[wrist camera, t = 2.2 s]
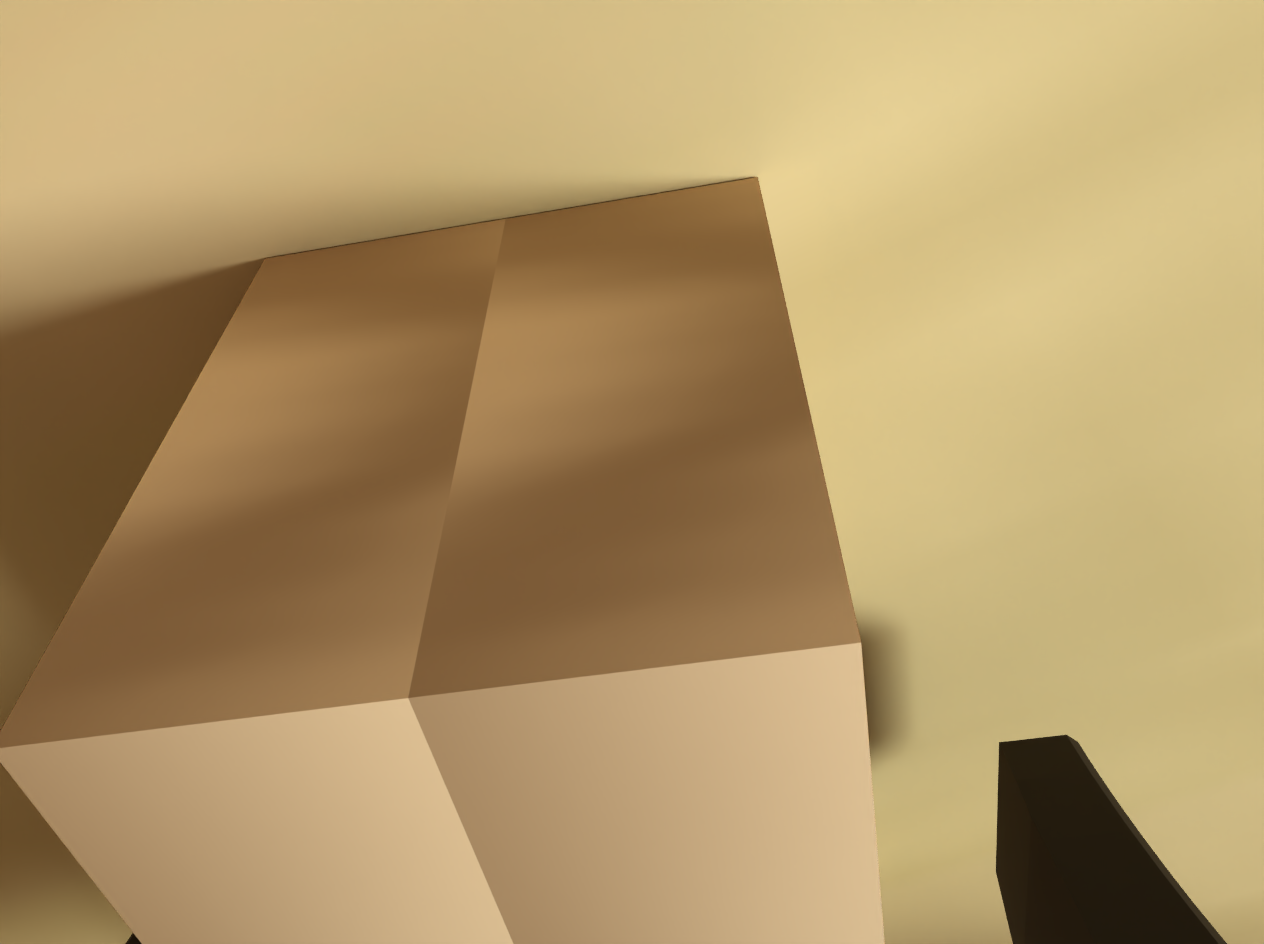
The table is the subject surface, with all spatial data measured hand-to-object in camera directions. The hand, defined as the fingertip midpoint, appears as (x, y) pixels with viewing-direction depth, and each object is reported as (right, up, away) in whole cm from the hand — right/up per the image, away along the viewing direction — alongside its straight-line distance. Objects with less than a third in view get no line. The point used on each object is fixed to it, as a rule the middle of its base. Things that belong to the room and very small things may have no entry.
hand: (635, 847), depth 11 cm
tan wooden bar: (0, +1, +1) cm, 2 cm away
